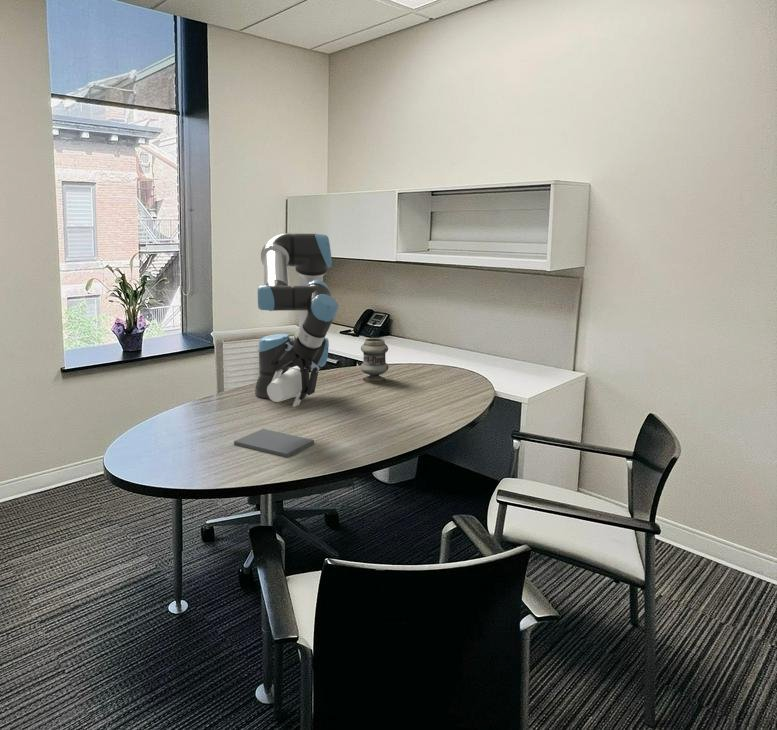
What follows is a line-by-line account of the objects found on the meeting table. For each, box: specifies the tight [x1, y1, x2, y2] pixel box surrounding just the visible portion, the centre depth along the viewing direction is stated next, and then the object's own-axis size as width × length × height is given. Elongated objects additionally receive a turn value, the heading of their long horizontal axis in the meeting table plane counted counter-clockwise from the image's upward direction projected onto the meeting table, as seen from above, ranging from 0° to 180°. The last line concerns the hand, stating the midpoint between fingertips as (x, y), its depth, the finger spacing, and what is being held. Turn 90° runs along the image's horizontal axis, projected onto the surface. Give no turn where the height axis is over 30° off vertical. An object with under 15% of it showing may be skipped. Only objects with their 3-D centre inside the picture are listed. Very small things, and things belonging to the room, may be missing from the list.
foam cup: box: [267, 366, 311, 403], centre depth 202 cm, size 10×9×13 cm
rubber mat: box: [233, 428, 315, 458], centre depth 198 cm, size 20×14×1 cm
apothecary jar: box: [360, 337, 389, 384], centre depth 276 cm, size 12×12×18 cm
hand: (284, 395), depth 205 cm, fingers closed on foam cup, 9 cm apart
